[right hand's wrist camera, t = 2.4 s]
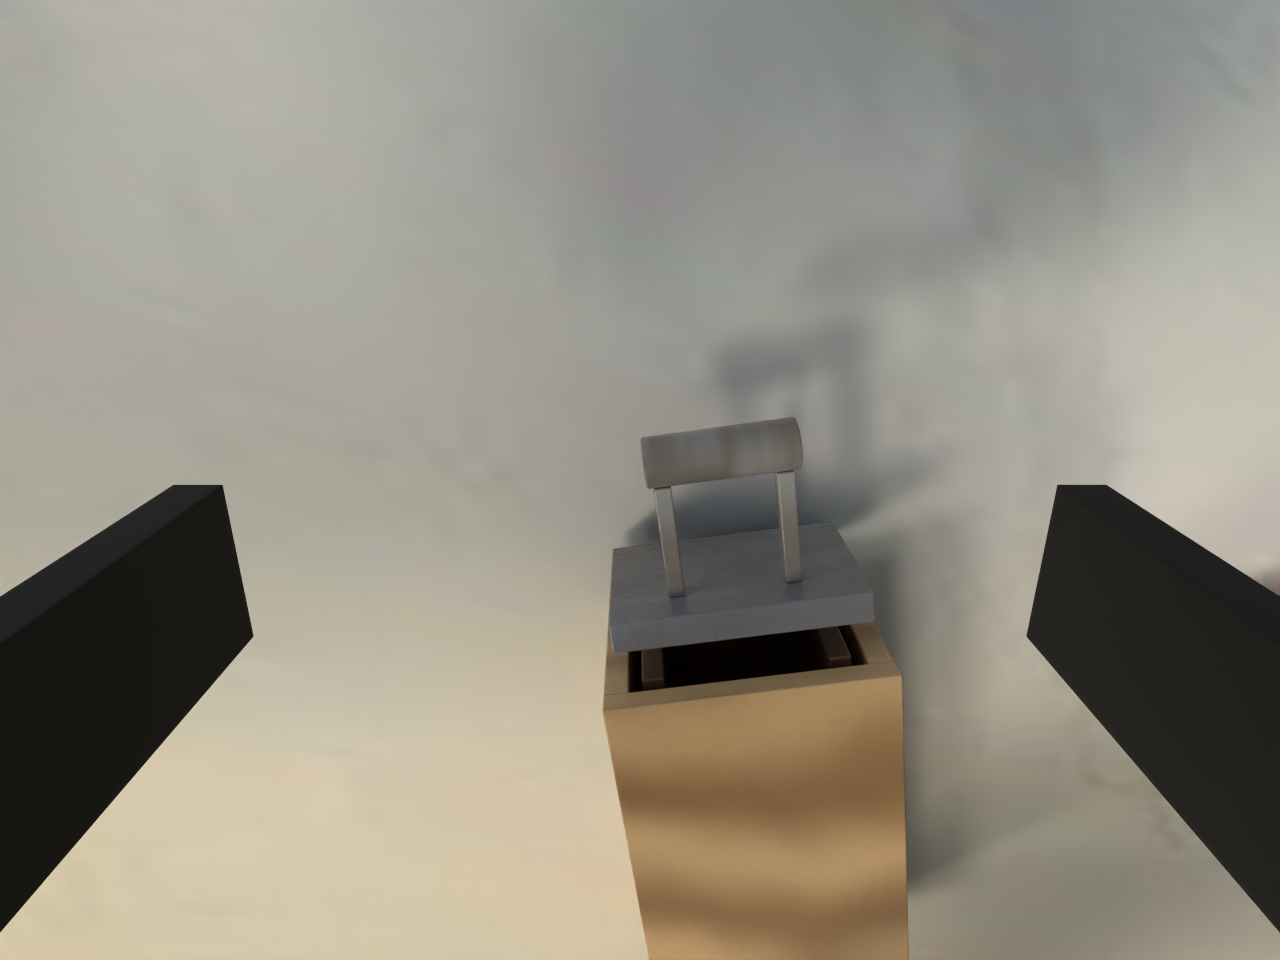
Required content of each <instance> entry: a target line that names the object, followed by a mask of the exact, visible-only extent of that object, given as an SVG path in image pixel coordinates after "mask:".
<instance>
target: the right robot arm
mask: <svg viewBox="0 0 1280 960" xmlns="http://www.w3.org/2000/svg"><path fill="white" fill-rule="evenodd" d="M252 637H253V632H252V627H251V622H250V617H249V612H248V607H247V602H246V597H245V593H244V588H243V583H242V578H241V573H240V568H239V563H238V558H237V553H236V549H235V544H234V539H233V534H232V529H231V524H230V519H229V514H228V510H227V505H226V500H225V495H224V490H223V485H173V486H171V487H170V488H168V489H167V490H165V491H164V492H162V493H160V494H159V495H157V496H156V497H154V498H153V499H151V500H150V501H148V502H146V503H145V504H143V505H142V506H140V507H139V508H137V509H136V510H134V511H132V512H131V513H129V514H128V515H126V516H125V517H123V518H122V519H120V520H118V521H117V522H115V523H114V524H112V525H111V526H109V527H108V528H106V529H105V530H103V531H101V532H100V533H98V534H97V535H95V536H94V537H92V538H91V539H89V540H87V541H86V542H84V543H83V544H81V545H80V546H78V547H77V548H75V549H73V550H72V551H70V552H69V553H67V554H66V555H64V556H63V557H61V558H59V559H58V560H56V561H55V562H53V563H52V564H50V565H49V566H47V567H46V568H44V569H42V570H41V571H39V572H38V573H36V574H35V575H33V576H32V577H30V578H28V579H27V580H25V581H24V582H22V583H21V584H19V585H18V586H16V587H14V588H13V589H11V590H10V591H8V592H7V593H5V594H4V595H2V596H0V932H1V931H2V930H3V928H4V927H5V926H6V925H7V924H8V923H9V921H10V920H11V919H12V918H13V917H14V916H15V914H16V913H17V912H18V911H19V910H20V909H21V907H22V906H23V905H24V904H25V903H26V902H27V900H28V899H29V898H30V897H31V896H32V895H33V893H34V892H35V891H36V890H37V889H38V888H39V886H40V885H41V884H42V883H43V882H44V881H45V879H46V878H47V877H48V876H49V875H50V874H51V872H52V871H53V870H54V869H55V868H56V867H57V865H58V864H59V863H60V862H61V861H62V860H63V858H64V857H65V856H66V855H67V854H68V853H69V851H70V850H71V849H72V848H73V847H74V846H75V844H76V843H77V842H78V841H79V840H80V839H81V837H82V836H83V835H84V834H85V833H86V831H87V830H88V829H89V828H90V827H91V826H92V824H93V823H94V822H95V821H96V820H97V819H98V817H99V816H100V815H101V814H102V813H103V812H104V810H105V809H106V808H107V807H108V806H109V805H110V803H111V802H112V801H113V800H114V799H115V798H116V796H117V795H118V794H119V793H120V792H121V791H122V789H123V788H124V787H125V786H126V785H127V784H128V782H129V781H130V780H131V779H132V778H133V777H134V775H135V774H136V773H137V772H138V771H139V770H140V768H141V767H142V766H143V765H144V764H145V763H146V761H147V760H148V759H149V758H150V757H151V756H152V754H153V753H154V752H155V751H156V750H157V749H158V747H159V746H160V745H161V744H162V743H163V742H164V740H165V739H166V738H167V737H168V736H169V734H170V733H171V732H172V731H173V730H174V729H175V727H176V726H177V725H178V724H179V723H180V722H181V720H182V719H183V718H184V717H185V716H186V715H187V713H188V712H189V711H190V710H191V709H192V708H193V706H194V705H195V704H196V703H197V702H198V701H199V699H200V698H201V697H202V696H203V695H204V694H205V692H206V691H207V690H208V689H209V688H210V687H211V685H212V684H213V683H214V682H215V681H216V680H217V678H218V677H219V676H220V675H221V674H222V673H223V671H224V670H225V669H226V668H227V667H228V666H229V664H230V663H231V662H232V661H233V660H234V659H235V657H236V656H237V655H238V654H239V653H240V652H241V650H242V649H243V648H244V647H245V646H246V645H247V643H248V642H249V641H250V640H251V639H252ZM1027 637H1028V639H1029V640H1030V641H1031V642H1032V643H1033V645H1034V646H1035V647H1036V648H1037V649H1038V650H1039V652H1040V653H1041V654H1042V655H1043V656H1044V657H1045V659H1046V660H1047V661H1048V662H1049V663H1050V664H1051V666H1052V667H1053V668H1054V669H1055V670H1056V671H1057V673H1058V674H1059V675H1060V676H1061V677H1062V678H1063V680H1064V681H1065V682H1066V683H1067V684H1068V685H1069V687H1070V688H1071V689H1072V690H1073V691H1074V692H1075V694H1076V695H1077V696H1078V697H1079V698H1080V699H1081V701H1082V702H1083V703H1084V704H1085V705H1086V706H1087V708H1088V709H1089V710H1090V711H1091V712H1092V713H1093V715H1094V716H1095V717H1096V718H1097V719H1098V720H1099V722H1100V723H1101V724H1102V725H1103V726H1104V727H1105V729H1106V730H1107V731H1108V732H1109V733H1110V734H1111V736H1112V737H1113V738H1114V739H1115V740H1116V742H1117V743H1118V744H1119V745H1120V746H1121V747H1122V749H1123V750H1124V751H1125V752H1126V753H1127V754H1128V756H1129V757H1130V758H1131V759H1132V760H1133V761H1134V763H1135V764H1136V765H1137V766H1138V767H1139V768H1140V770H1141V771H1142V772H1143V773H1144V774H1145V775H1146V777H1147V778H1148V779H1149V780H1150V781H1151V782H1152V784H1153V785H1154V786H1155V787H1156V788H1157V789H1158V791H1159V792H1160V793H1161V794H1162V795H1163V796H1164V798H1165V799H1166V800H1167V801H1168V802H1169V803H1170V805H1171V806H1172V807H1173V808H1174V809H1175V810H1176V812H1177V813H1178V814H1179V815H1180V816H1181V817H1182V819H1183V820H1184V821H1185V822H1186V823H1187V824H1188V826H1189V827H1190V828H1191V829H1192V830H1193V831H1194V833H1195V834H1196V835H1197V836H1198V837H1199V839H1200V840H1201V841H1202V842H1203V843H1204V844H1205V846H1206V847H1207V848H1208V849H1209V850H1210V851H1211V853H1212V854H1213V855H1214V856H1215V857H1216V858H1217V860H1218V861H1219V862H1220V863H1221V864H1222V865H1223V867H1224V868H1225V869H1226V870H1227V871H1228V872H1229V874H1230V875H1231V876H1232V877H1233V878H1234V879H1235V881H1236V882H1237V883H1238V884H1239V885H1240V886H1241V888H1242V889H1243V890H1244V891H1245V892H1246V893H1247V895H1248V896H1249V897H1250V898H1251V899H1252V900H1253V902H1254V903H1255V904H1256V905H1257V906H1258V907H1259V909H1260V910H1261V911H1262V912H1263V913H1264V914H1265V916H1266V917H1267V918H1268V919H1269V920H1270V921H1271V923H1272V924H1273V925H1274V926H1275V927H1276V928H1277V930H1278V931H1279V932H1280V596H1278V595H1276V594H1275V593H1273V592H1272V591H1270V590H1269V589H1267V588H1266V587H1264V586H1262V585H1261V584H1259V583H1258V582H1256V581H1255V580H1253V579H1252V578H1250V577H1248V576H1247V575H1245V574H1244V573H1242V572H1241V571H1239V570H1238V569H1236V568H1234V567H1233V566H1231V565H1230V564H1228V563H1227V562H1225V561H1224V560H1222V559H1221V558H1219V557H1217V556H1216V555H1214V554H1213V553H1211V552H1210V551H1208V550H1207V549H1205V548H1203V547H1202V546H1200V545H1199V544H1197V543H1196V542H1194V541H1193V540H1191V539H1189V538H1188V537H1186V536H1185V535H1183V534H1182V533H1180V532H1179V531H1177V530H1175V529H1174V528H1172V527H1171V526H1169V525H1168V524H1166V523H1165V522H1163V521H1162V520H1160V519H1158V518H1157V517H1155V516H1154V515H1152V514H1151V513H1149V512H1148V511H1146V510H1144V509H1143V508H1141V507H1140V506H1138V505H1137V504H1135V503H1134V502H1132V501H1130V500H1129V499H1127V498H1126V497H1124V496H1123V495H1121V494H1120V493H1118V492H1116V491H1115V490H1113V489H1112V488H1110V487H1109V486H1107V485H1057V490H1056V495H1055V500H1054V505H1053V510H1052V514H1051V519H1050V524H1049V529H1048V534H1047V539H1046V544H1045V549H1044V553H1043V558H1042V563H1041V568H1040V573H1039V578H1038V583H1037V588H1036V593H1035V597H1034V602H1033V607H1032V612H1031V617H1030V622H1029V627H1028V632H1027Z"/></svg>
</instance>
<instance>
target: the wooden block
mask: <svg viewBox="0 0 1280 960" xmlns="http://www.w3.org/2000/svg"><path fill="white" fill-rule="evenodd" d="M609 607H610V600H609ZM608 624H609V617H608ZM837 627H838V629H839V631H840V633H841V635H842V637H843V640H844V642H845V644H846V646H847V648H848V650H849V653H850V655H851V663H852V666H848V667H840V668H832V669H823V670H815V671H807V672H798V673H790V674H782V675H773V676H765V677H757V678H749V679H740V680H732V681H724V682H715V683H707V684H699V685H690V686H682V687H674V688H666V689H657V690H649V691H643V685H642V650H639V651H631V652H622V653H614V652H613V649H612V643H611V637H610V632H609V626H608V634H607V650H606V667H605V683H604V698H603V716H604V721H605V727H606V732H607V737H608V743H609V748H610V753H611V759H612V764H613V769H614V775H615V780H616V785H617V791H618V796H619V801H620V807H621V812H622V817H623V822H624V828H625V833H626V838H627V844H628V849H629V854H630V860H631V865H632V870H633V876H634V881H635V886H636V892H637V897H638V902H639V907H640V913H641V918H642V923H643V929H644V934H645V939H646V945H647V950H648V955H649V960H909V954H908V909H907V865H906V820H905V776H904V731H903V687H902V675H901V673H900V671H899V669H898V667H897V665H896V664H895V662H894V661H893V659H892V657H891V655H890V653H889V651H888V650H887V648H886V646H885V644H884V642H883V640H882V639H881V637H880V635H879V633H878V631H877V629H876V627H875V626H874V624H873V622H867V623H859V624H851V625H842V626H837Z"/></svg>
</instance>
